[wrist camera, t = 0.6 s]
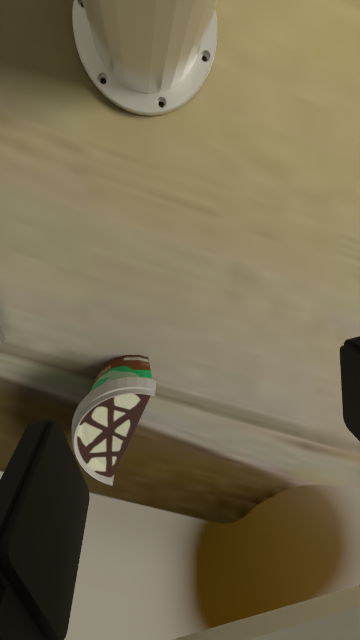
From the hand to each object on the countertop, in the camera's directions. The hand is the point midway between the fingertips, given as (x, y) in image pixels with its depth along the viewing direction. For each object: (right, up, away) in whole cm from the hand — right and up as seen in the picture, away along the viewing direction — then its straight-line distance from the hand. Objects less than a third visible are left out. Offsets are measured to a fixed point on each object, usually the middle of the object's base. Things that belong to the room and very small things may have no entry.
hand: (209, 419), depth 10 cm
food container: (-9, -5, +31) cm, 32 cm away
